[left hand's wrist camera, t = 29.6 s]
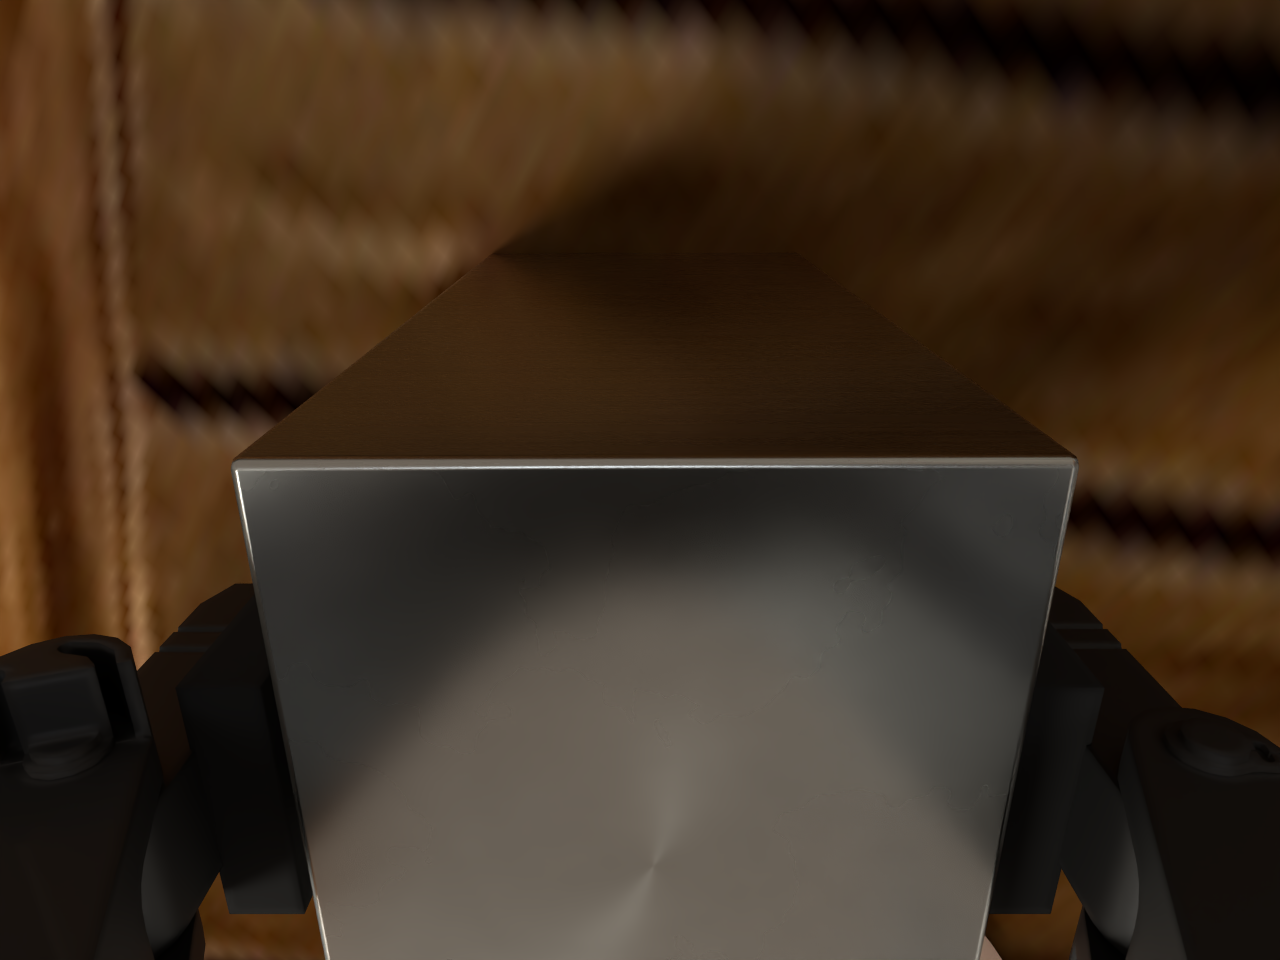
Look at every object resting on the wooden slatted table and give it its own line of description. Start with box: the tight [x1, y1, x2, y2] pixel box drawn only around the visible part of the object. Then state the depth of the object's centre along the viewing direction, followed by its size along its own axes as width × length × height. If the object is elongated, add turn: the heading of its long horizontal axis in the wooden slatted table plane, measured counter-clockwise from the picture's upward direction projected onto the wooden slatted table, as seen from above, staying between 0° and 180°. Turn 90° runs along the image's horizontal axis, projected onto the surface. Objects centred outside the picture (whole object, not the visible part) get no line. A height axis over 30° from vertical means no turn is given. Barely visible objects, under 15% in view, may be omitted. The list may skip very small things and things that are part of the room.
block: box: [231, 253, 1079, 960], centre depth 13 cm, size 6×8×12 cm
